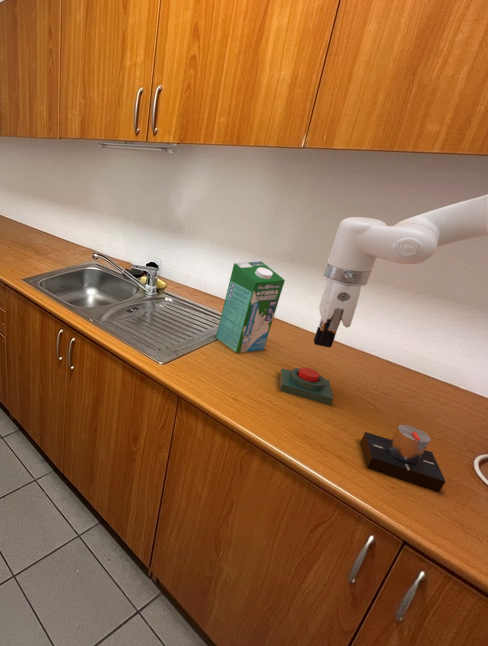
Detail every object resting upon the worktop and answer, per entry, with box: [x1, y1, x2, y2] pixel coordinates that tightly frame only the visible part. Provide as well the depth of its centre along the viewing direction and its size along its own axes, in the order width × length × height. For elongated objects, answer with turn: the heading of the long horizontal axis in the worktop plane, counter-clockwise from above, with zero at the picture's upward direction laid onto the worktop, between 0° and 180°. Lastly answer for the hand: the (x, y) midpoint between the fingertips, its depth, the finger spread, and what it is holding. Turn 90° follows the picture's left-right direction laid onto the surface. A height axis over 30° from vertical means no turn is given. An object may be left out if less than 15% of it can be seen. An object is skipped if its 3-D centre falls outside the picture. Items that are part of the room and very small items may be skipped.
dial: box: [387, 424, 431, 464], centre depth 76 cm, size 4×4×6 cm
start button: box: [298, 366, 321, 382], centre depth 98 cm, size 4×4×2 cm
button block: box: [278, 367, 334, 406], centre depth 99 cm, size 10×8×4 cm
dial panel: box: [359, 431, 446, 493], centre depth 78 cm, size 10×9×3 cm
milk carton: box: [215, 261, 286, 354], centre depth 115 cm, size 9×9×25 cm
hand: (322, 344), depth 94 cm, fingers closed
